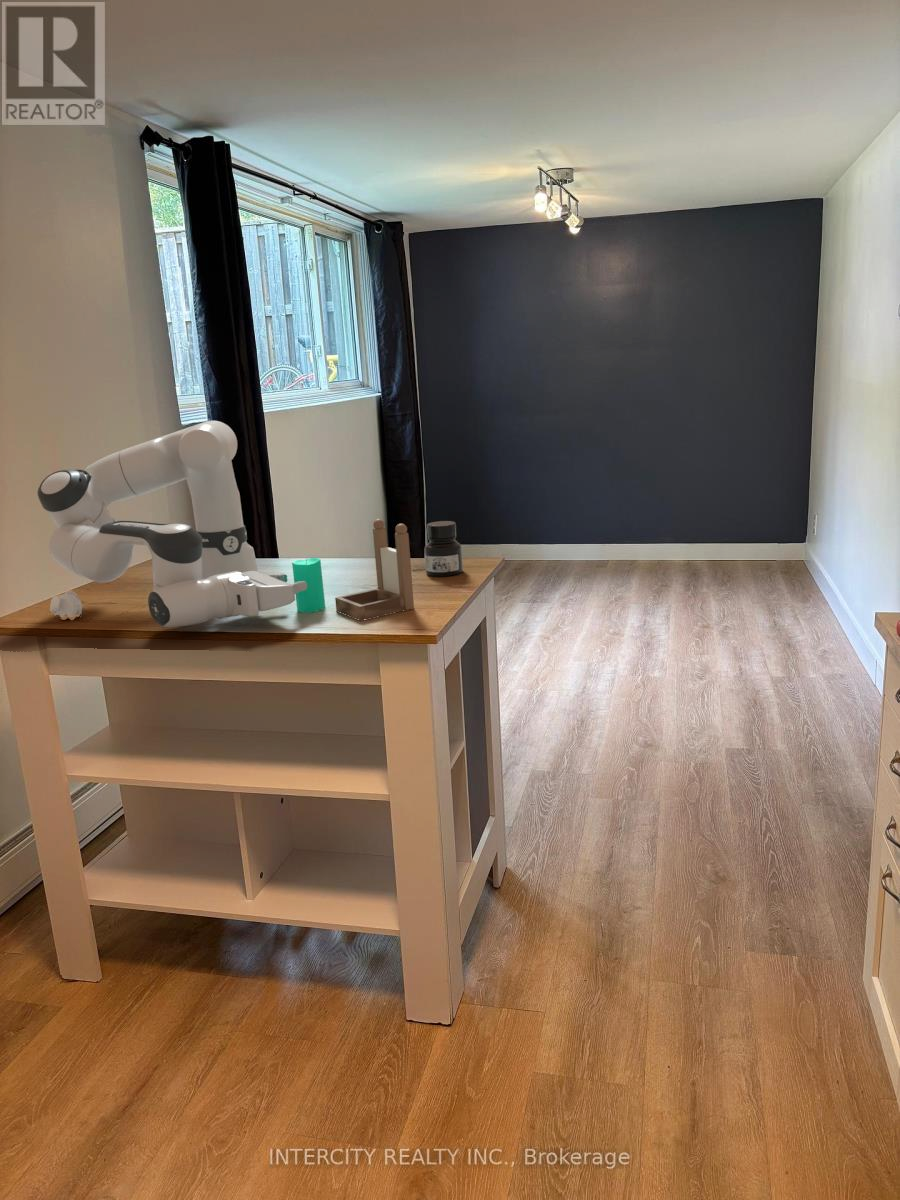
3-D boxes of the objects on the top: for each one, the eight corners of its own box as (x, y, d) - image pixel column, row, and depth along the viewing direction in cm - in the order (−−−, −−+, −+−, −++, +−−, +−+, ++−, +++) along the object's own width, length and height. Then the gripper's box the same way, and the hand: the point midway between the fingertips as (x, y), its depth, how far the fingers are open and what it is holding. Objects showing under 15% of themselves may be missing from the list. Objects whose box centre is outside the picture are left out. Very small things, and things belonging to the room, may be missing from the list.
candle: (329, 604, 203) (323, 550, 200) (319, 612, 197) (313, 556, 194) (303, 605, 204) (297, 551, 201) (293, 612, 198) (286, 557, 195)
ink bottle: (419, 577, 222) (415, 527, 219) (431, 568, 231) (427, 520, 227) (458, 577, 219) (455, 527, 216) (469, 568, 228) (466, 519, 224)
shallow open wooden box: (336, 611, 197) (335, 597, 196) (379, 601, 203) (378, 588, 202) (361, 621, 189) (359, 606, 188) (405, 610, 194) (404, 596, 193)
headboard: (377, 601, 203) (370, 519, 198) (387, 599, 204) (380, 517, 200) (405, 611, 194) (398, 525, 189) (415, 608, 195) (408, 523, 190)
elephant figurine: (62, 614, 209) (57, 589, 208) (94, 614, 208) (89, 588, 206) (43, 623, 203) (38, 597, 202) (75, 623, 201) (71, 596, 200)
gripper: (216, 599, 198) (276, 587, 206) (254, 618, 182) (318, 604, 189) (212, 570, 197) (273, 559, 204) (251, 586, 180) (315, 573, 188)
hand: (295, 581), depth 197 cm, fingers open, 8 cm apart
